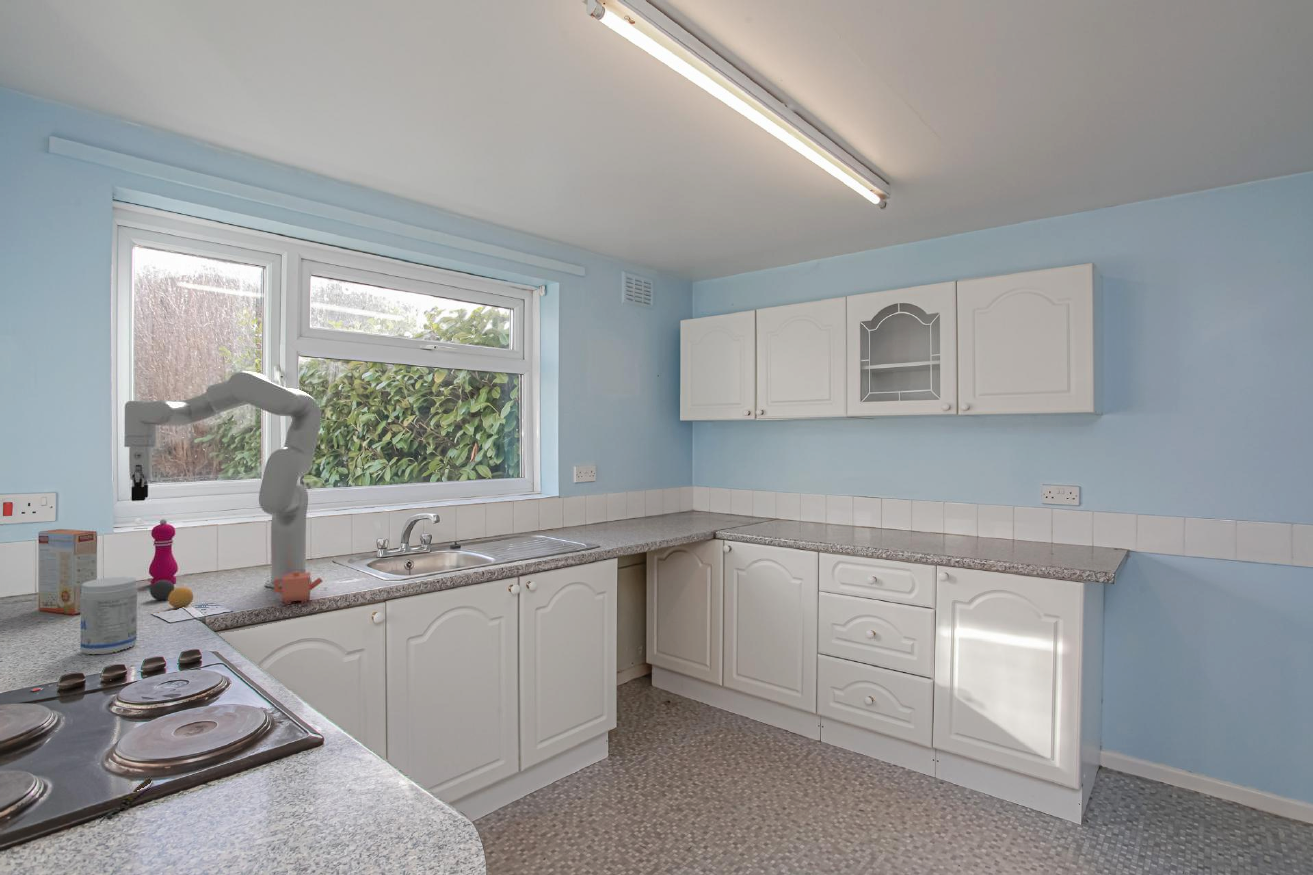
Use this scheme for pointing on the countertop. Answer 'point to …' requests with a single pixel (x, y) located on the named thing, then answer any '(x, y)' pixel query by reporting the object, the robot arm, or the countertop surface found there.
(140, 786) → the can opener
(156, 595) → the dark grey ball
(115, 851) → the countertop surface
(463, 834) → the countertop surface
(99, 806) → the countertop surface
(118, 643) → the supplement tub
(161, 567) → the pepper mill
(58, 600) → the cracker box
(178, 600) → the orange ball
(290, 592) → the pink cube teapot
